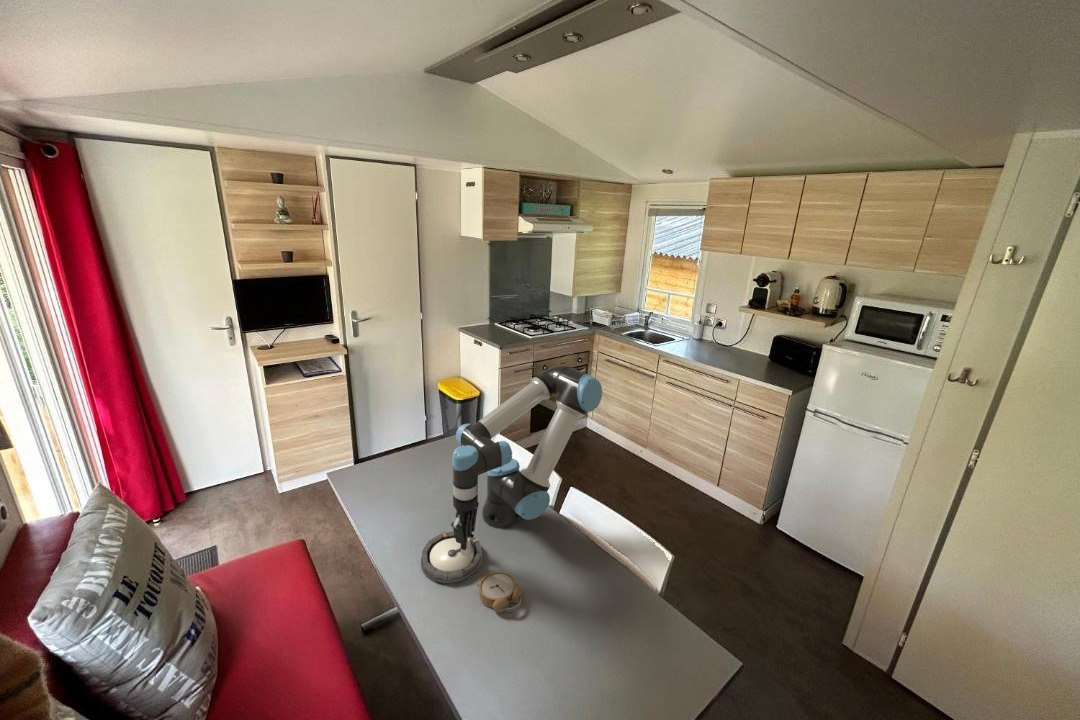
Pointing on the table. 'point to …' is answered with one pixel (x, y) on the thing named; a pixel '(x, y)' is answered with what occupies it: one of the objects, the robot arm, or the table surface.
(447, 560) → the dial
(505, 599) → the alarm clock
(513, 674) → the table surface
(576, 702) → the table surface
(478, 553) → the housing
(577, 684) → the table surface
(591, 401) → the robot arm
